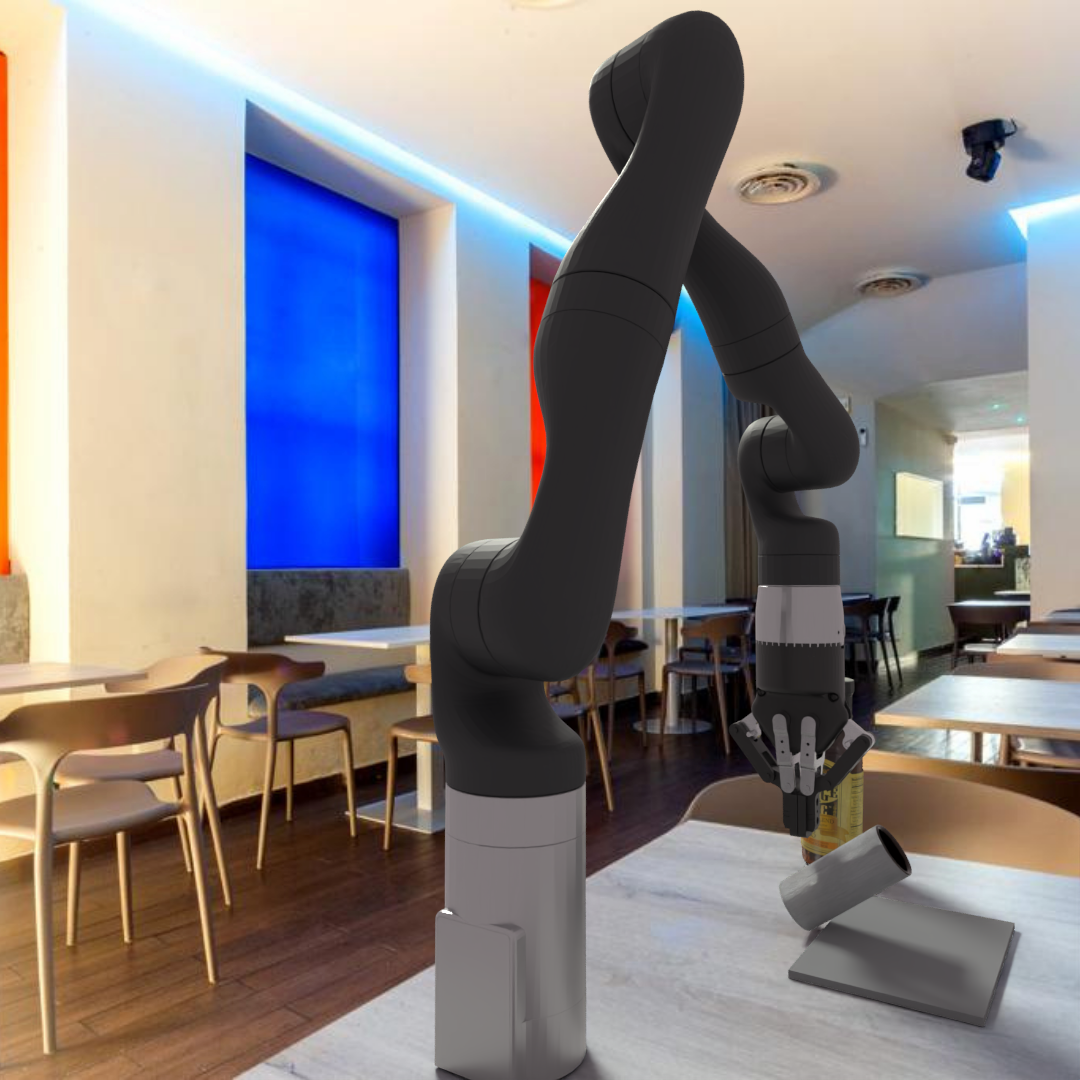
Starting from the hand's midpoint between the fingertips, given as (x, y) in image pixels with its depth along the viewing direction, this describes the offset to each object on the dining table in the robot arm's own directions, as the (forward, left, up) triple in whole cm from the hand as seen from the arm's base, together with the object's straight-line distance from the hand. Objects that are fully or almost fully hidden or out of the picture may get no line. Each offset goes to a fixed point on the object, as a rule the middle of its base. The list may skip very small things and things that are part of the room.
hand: (801, 834), depth 78 cm
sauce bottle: (+19, +3, -8) cm, 21 cm away
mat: (0, -9, -8) cm, 12 cm away
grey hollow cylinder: (0, +1, -6) cm, 6 cm away
